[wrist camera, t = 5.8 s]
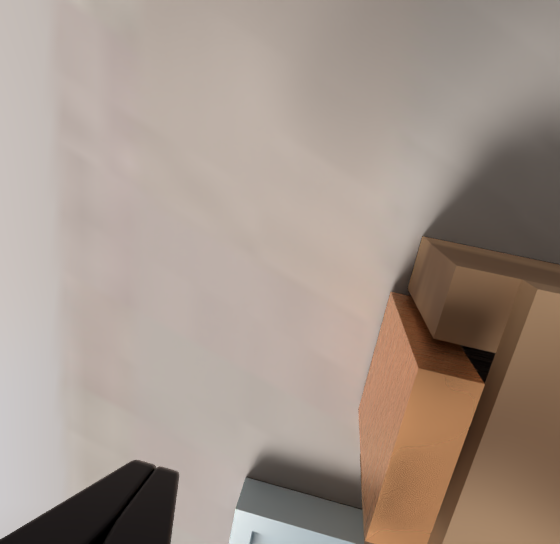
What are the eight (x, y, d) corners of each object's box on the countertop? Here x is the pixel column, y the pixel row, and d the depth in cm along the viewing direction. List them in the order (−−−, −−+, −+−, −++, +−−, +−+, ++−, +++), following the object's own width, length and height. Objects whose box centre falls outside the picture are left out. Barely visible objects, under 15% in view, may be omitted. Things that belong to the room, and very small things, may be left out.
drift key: (598, 470, 15) (750, 652, 9) (358, 409, 16) (365, 540, 10) (654, 350, 13) (870, 477, 8) (390, 291, 14) (418, 368, 9)
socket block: (597, 518, 15) (720, 689, 10) (360, 455, 16) (366, 583, 11) (707, 295, 13) (938, 375, 8) (422, 236, 14) (465, 273, 9)
